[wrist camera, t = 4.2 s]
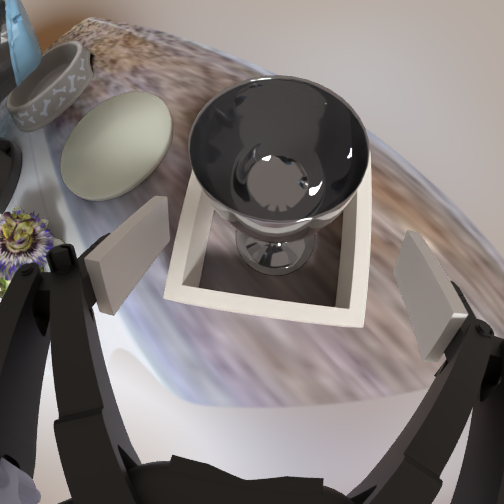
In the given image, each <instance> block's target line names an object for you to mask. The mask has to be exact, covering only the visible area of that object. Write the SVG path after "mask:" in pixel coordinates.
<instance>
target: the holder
mask: <svg viewBox="0 0 504 504" xmlns="http://www.w3.org/2000/svg"><path fill="white" fill-rule="evenodd" d="M213 212H214V208H213V206H212V205H211V203H210V202H209V200H208V199H207V197H206V196H205V194H204V192H203V191H202V189H201V187H200V185H199V183H198V181H197V179H196V177H195V174H194V172H193V169H192V173H191V176H190V180H189V184H188V188H187V192H186V196H185V200H184V204H183V208H182V212H181V216H180V220H179V225H178V229H177V233H176V238H175V242H174V247H173V252H172V256H171V261H170V266H169V271H168V276H167V281H166V287H165V292H164V297H163V298H164V299H168V300H172V301H176V302H180V303H184V304H189V305H194V306H200V307H205V308H211V309H217V310H223V311H229V312H235V313H241V314H247V315H254V316H261V317H268V318H275V319H282V320H289V321H297V322H305V323H313V324H322V325H331V326H340V327H360V328H363V325H364V317H365V308H366V299H367V288H368V276H369V261H370V243H371V155H369V162H368V167H367V170H366V172H365V175H364V178H363V180H362V182H361V184H360V186H359V188H358V189H357V191H356V193H355V194H354V196H353V197H352V199H351V200H350V202H349V203H348V205H347V206H346V207H345V209H344V210H343V227H342V242H341V255H340V266H339V277H338V286H337V295H336V304H335V307H327V306H319V305H311V304H303V303H295V302H288V301H280V300H273V299H266V298H259V297H252V296H246V295H239V294H233V293H226V292H220V291H214V290H208V289H202V288H199V284H200V279H201V273H202V268H203V263H204V257H205V252H206V247H207V242H208V237H209V232H210V227H211V222H212V217H213Z"/></svg>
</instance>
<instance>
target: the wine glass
mask: <svg viewBox="0 0 504 504" xmlns="http://www.w3.org/2000/svg"><path fill="white" fill-rule="evenodd" d="M188 152H189V159H190V164H191V166H192V169H193V172H194V174H195V177H196V179H197V181H198V183H199V185H200V187H201V189H202V191H203V192H204V194H205V196H206V197H207V199H208V200H209V202H210V203H211V205H212V206H213V208H214V210H215V211H216V212H217V213H218V214H219V215H220V216H221V217H222V218H223V219H224V220H225V221H226V222H227V223H228V224H229V225H230V226H232V227H233V228H235V229H236V230H237V231H236V244H237V248H238V251H239V253H240V255H241V257H242V258H243V260H244V261H245V262H246V263H247V264H248V265H249V266H250V267H251V268H253V269H254V270H256V271H258V272H260V273H263V274H266V275H273V276H278V275H285V274H289V273H291V272H294V271H296V270H297V269H299V268H300V267H302V266H303V265H304V264H305V263H306V262H307V260H308V259H309V257H310V256H311V254H312V251H313V249H314V245H315V234H316V233H318V232H319V231H321V230H322V229H324V228H325V227H326V226H328V225H329V224H330V223H331V222H333V221H334V220H335V219H336V218H337V217H338V216H339V215H340V214H341V213H342V211H343V210H344V209H345V207H346V206H347V205H348V203H349V202H350V200H351V199H352V197H353V196H354V194H355V193H356V191H357V189H358V188H359V186H360V184H361V182H362V180H363V178H364V175H365V172H366V170H367V167H368V162H369V155H370V150H369V140H368V136H367V133H366V130H365V127H364V125H363V123H362V122H361V119H360V118H359V116H358V115H357V113H356V112H355V111H354V109H353V108H352V107H351V106H350V105H349V104H348V103H347V102H346V101H345V100H344V99H343V98H342V97H340V96H338V95H337V94H336V93H334V92H333V91H331V90H330V89H328V88H326V87H324V86H322V85H320V84H318V83H315V82H312V81H309V80H306V79H302V78H297V77H292V76H281V75H274V76H261V77H256V78H251V79H247V80H244V81H241V82H238V83H236V84H234V85H231V86H229V87H227V88H225V89H224V90H222V91H221V92H219V93H218V94H216V95H215V96H214V97H213V98H212V99H211V100H209V101H208V102H207V103H206V104H205V106H204V107H203V108H202V109H201V111H200V112H199V113H198V115H197V117H196V119H195V121H194V123H193V125H192V128H191V131H190V135H189V143H188Z"/></svg>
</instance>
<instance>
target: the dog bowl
mask: <svg viewBox="0 0 504 504" xmlns="http://www.w3.org/2000/svg"><path fill="white" fill-rule="evenodd" d="M90 55H93V56H95V55H94V54H92V53H91V52H90V51H89V50H88V49H87V48H86V47H85V46H83V45H82V44H81V43H80V42H78V41H68V42H65V43H62V44H59V45H57V46H55V47H53V48H52V49H50V50H48V51H47V52H45V53H44V54H42V58H41V62H40V64H39V66H38V67H37V68H36V69H35V70H34V71H33V72H32V73H31V74H30V75H29V76H28V77H27V78H26V79H25V80H23V81H22V82H21V85H20V86H19V87H16V88H15V89H14V90H13V91H12V92H11V93H10V94H9V95H8V98H7V109H8V111H9V112H10V114H11V116H12V118H13V119H14V121H15V123H16V125H17V127H18V129H19V130H20V131H22V132H32V131H35V130H38V129H40V128H42V127H44V126H46V125H47V124H49V123H50V122H52V121H53V120H55V119H56V118H57V117H58V116H60V115H61V114H62V113H63V112H64V111H66V110H67V109H68V108H69V107H70V106H71V105H72V104H73V103H74V102H75V101H76V100H77V98H78V97H79V96H80V95H81V94H82V93H83V91H84V90H85V89H86V88H87V86H88V85H89V83H90V82H91V80H92V79H93V77H94V74H93V72H92V69H91V66H90Z"/></svg>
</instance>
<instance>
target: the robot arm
mask: <svg viewBox="0 0 504 504" xmlns="http://www.w3.org/2000/svg"><path fill="white" fill-rule="evenodd" d="M41 58H42V53H41V48H40V45H39V43H38V40H37V38H36V35H35V32H34V30H33V27H32V25H31V22H30V20H29V18H28V15H27V13H26V11H25V9H24V6H23V4H22V2H21V1H20V0H0V103H1V102H2V101H3V100H4V99H5V98H6V97H7V96H8V95H9V94H10V93H11V92H12V91H13V90H14V89H15V88H16V87H19V86H20V85H21V82H22V81H23V80H25V79H26V78H27V77H28V76H29V75H30V74H31V73H32V72H33V71H34V70H35V69H36V68H37V67H38V66H39V64H40V62H41ZM21 165H22V154H21V151H20V149H19V147H18V146H16V145H15V144H14V143H13V142H11V141H10V140H8V139H5V138H1V137H0V213H1V214H2V213H3V212H4V210H5V209H6V207H7V205H8V203H9V201H10V199H11V197H12V195H13V193H14V190H15V188H16V185H17V182H18V179H19V175H20V171H21ZM169 241H170V231H169V217H168V199H167V197H165V196H154V197H153V198H152V199H150V200H149V201H148V202H147V203H146V204H144V205H143V206H142V207H141V208H140V209H138V210H137V211H136V212H135V213H134V214H132V215H131V216H130V217H129V218H128V219H127V220H126V221H124V222H123V223H122V224H121V225H120V226H119V227H118V228H116V229H115V230H114V231H113V232H112V233H108V234H106V235H104V236H102V237H100V238H99V239H98V240H97V241H96V242H95V243H94V244H93V245H91V246H90V247H89V249H87V250H86V251H85V252H84V253H83V254H82V255H81V256H80V257H79V258H78V259H77V257H76V253H75V249H74V247H73V245H71V244H60V245H57V246H55V247H53V248H51V249H50V250H49V251H48V252H47V254H46V259H47V262H48V265H49V268H50V271H51V272H41V270H40V267H39V265H38V264H37V263H35V262H31V263H26V264H24V265H22V266H21V267H20V268H18V270H17V271H16V272H15V274H14V276H13V278H12V280H11V282H10V284H9V286H8V288H7V290H6V292H5V294H4V296H3V298H2V300H1V303H0V504H37V503H38V502H40V499H41V495H40V492H39V491H38V490H37V489H36V486H35V484H34V481H33V480H32V479H33V474H34V468H35V459H36V440H37V424H38V414H39V405H40V395H41V389H42V381H43V376H44V370H45V364H46V359H47V354H48V349H49V344H50V340H51V355H52V367H53V376H54V385H55V392H56V400H57V406H58V412H59V419H58V420H55V421H54V432H55V437H56V443H57V447H58V451H59V455H60V460H61V463H62V467H63V471H64V475H65V478H66V481H67V484H68V487H69V491H70V494H71V497H72V498H70V499H68V500H66V501H63V502H61V503H58V504H432V502H433V500H434V499H435V497H436V496H437V494H438V492H439V491H440V489H441V487H442V482H443V481H442V480H441V479H440V475H441V472H442V471H443V469H444V467H445V465H446V464H447V462H448V460H449V458H450V456H451V454H452V452H453V450H454V448H455V446H456V444H457V442H458V440H459V438H460V436H461V434H462V431H463V429H464V427H465V425H466V422H467V420H468V417H469V415H470V413H471V410H472V408H473V412H472V418H471V425H470V430H469V436H468V441H467V446H466V450H465V455H464V459H463V463H462V467H461V471H460V475H459V479H458V482H457V485H456V489H455V492H454V495H453V498H452V501H451V503H450V504H504V339H502V338H499V337H496V336H494V332H493V330H492V328H491V327H490V326H489V325H488V324H487V323H486V322H484V321H482V320H479V319H476V317H475V315H474V313H473V311H472V310H471V308H470V306H469V304H468V302H466V299H465V297H464V296H463V293H462V292H461V290H460V288H459V287H458V286H457V285H456V284H455V283H454V282H453V281H450V280H449V278H448V277H447V275H446V273H445V272H444V270H443V268H442V267H441V265H440V264H439V262H438V260H437V259H436V257H435V256H434V254H433V253H432V251H431V249H430V248H429V246H428V245H427V243H426V242H425V240H424V239H423V237H422V236H421V235H420V233H419V232H415V231H409V230H407V232H406V236H405V239H404V242H403V245H402V248H401V251H400V253H399V256H398V259H397V262H396V265H395V267H394V270H393V274H394V277H395V279H396V282H397V284H398V287H399V290H400V292H401V295H402V298H403V300H404V303H405V306H406V309H407V312H408V315H409V318H410V321H411V324H412V327H413V330H414V333H415V336H416V339H417V342H418V345H419V349H420V352H421V356H422V359H423V362H438V360H439V359H440V357H441V356H442V355H443V353H445V356H446V361H445V362H444V363H443V365H442V366H441V367H440V369H439V370H438V371H437V373H436V374H435V375H434V376H435V377H436V378H435V380H434V381H433V383H432V385H431V387H430V389H429V390H428V392H427V394H426V395H425V397H424V399H423V400H422V402H421V404H420V405H419V407H418V408H417V410H416V412H415V413H414V415H413V416H412V418H411V419H410V421H409V422H408V424H407V425H406V427H405V428H404V430H403V431H402V432H401V434H400V435H399V437H398V438H397V439H396V441H395V442H394V444H393V445H392V446H391V448H390V449H389V450H388V452H387V453H386V454H385V455H384V457H383V458H382V459H381V460H380V462H379V463H378V464H377V465H376V467H375V468H374V469H373V470H372V471H371V472H370V474H369V475H368V476H367V477H366V478H365V479H364V480H363V481H362V482H361V484H359V485H358V486H357V487H356V488H354V489H353V490H352V491H351V492H350V493H349V494H348V495H347V496H345V495H344V494H342V493H340V492H338V491H336V490H335V489H332V488H329V487H327V486H323V478H302V477H288V476H285V477H277V478H268V479H258V480H244V479H241V478H239V477H236V476H234V475H231V474H229V473H227V472H225V471H222V470H220V469H218V468H216V467H214V466H211V465H209V464H206V463H202V462H198V461H194V460H190V459H186V458H182V457H178V456H175V455H172V457H171V460H170V461H159V462H158V461H157V462H151V463H146V464H141V462H140V460H139V458H138V456H137V454H136V452H135V450H134V448H133V447H132V445H131V442H130V440H129V437H128V434H127V432H126V429H125V426H124V424H123V421H122V418H121V415H120V412H119V409H118V406H117V403H116V400H115V397H114V394H113V390H112V387H111V383H110V380H109V376H108V373H107V369H106V365H105V361H104V357H103V353H102V349H101V345H100V340H99V336H98V331H97V326H96V321H95V316H94V312H93V309H92V306H93V305H94V304H95V303H96V302H97V305H98V308H99V311H100V312H102V313H106V314H109V315H113V316H114V315H115V313H116V312H117V311H118V309H119V308H120V306H121V305H122V304H123V302H124V301H125V299H126V298H127V297H128V295H129V294H130V293H131V291H132V290H133V288H134V287H135V286H136V284H137V283H138V282H139V280H140V279H141V278H142V276H143V275H144V274H145V272H146V271H147V270H148V268H149V267H150V266H151V264H152V263H153V262H154V261H155V259H156V258H157V257H158V255H159V254H160V253H161V252H162V250H163V249H164V248H165V246H166V245H167V244H168V243H169Z"/></svg>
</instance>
